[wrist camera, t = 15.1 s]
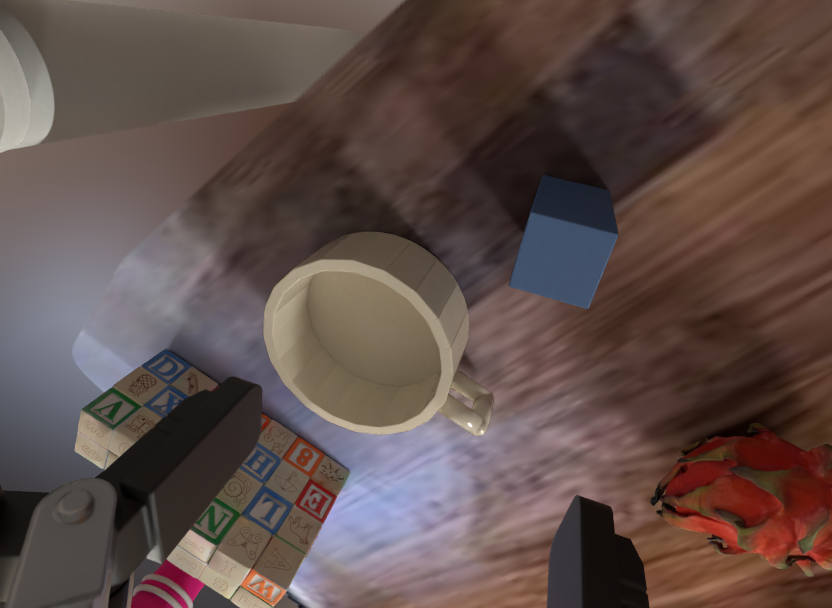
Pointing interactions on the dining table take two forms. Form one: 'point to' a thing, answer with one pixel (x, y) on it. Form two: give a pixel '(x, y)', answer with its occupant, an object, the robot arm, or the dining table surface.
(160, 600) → the pepper mill
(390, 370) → the mug
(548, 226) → the block
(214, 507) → the stack of blocks
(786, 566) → the dragon fruit
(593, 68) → the dining table surface
